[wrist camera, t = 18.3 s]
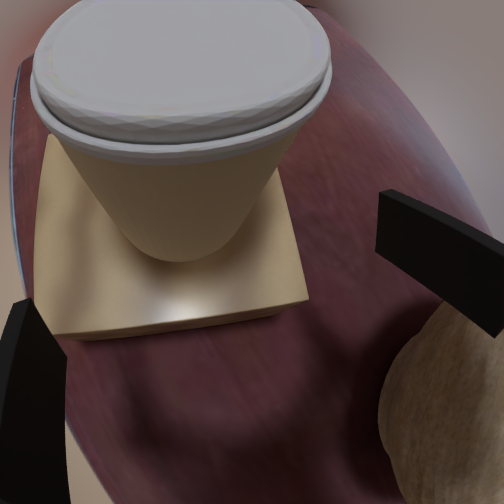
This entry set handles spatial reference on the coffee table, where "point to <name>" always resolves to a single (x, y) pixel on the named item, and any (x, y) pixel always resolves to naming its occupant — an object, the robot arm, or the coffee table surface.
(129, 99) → the coffee cup
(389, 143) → the coffee table surface
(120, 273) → the wooden stand
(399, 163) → the coffee table surface
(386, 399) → the vase
